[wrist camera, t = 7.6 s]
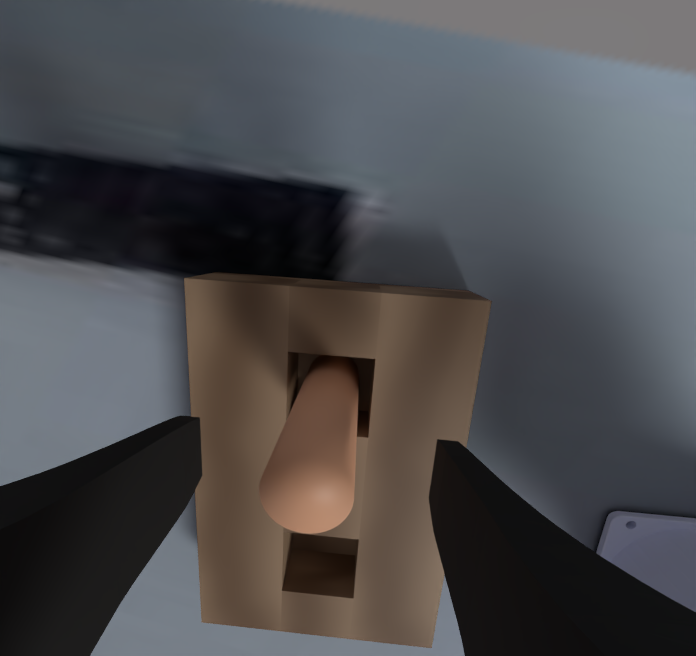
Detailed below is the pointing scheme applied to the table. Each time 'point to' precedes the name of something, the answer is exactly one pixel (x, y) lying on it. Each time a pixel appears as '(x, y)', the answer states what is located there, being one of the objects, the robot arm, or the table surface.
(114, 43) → the table surface
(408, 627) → the bore block
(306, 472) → the pin
